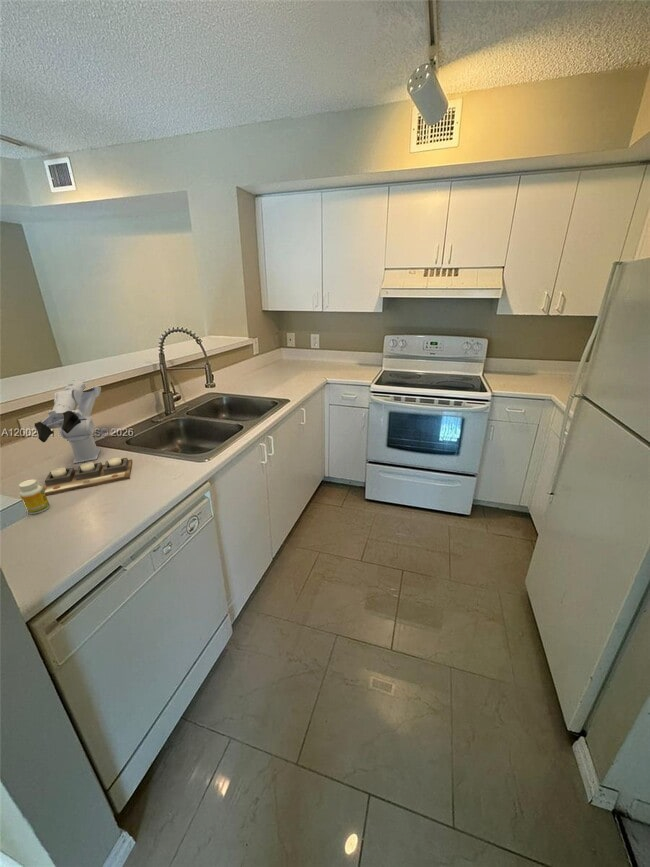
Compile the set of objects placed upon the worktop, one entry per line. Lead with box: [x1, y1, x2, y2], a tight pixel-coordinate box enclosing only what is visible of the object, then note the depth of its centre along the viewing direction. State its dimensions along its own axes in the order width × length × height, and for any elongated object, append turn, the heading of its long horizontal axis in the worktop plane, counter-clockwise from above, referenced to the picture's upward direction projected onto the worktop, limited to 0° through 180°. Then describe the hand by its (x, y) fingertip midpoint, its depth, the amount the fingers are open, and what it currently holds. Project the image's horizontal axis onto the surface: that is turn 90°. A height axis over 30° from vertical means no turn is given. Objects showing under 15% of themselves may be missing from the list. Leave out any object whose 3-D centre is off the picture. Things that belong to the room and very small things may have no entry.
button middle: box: [80, 461, 95, 473], centre depth 118 cm, size 4×4×2 cm
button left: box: [50, 466, 67, 478], centre depth 115 cm, size 4×4×2 cm
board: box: [42, 457, 133, 497], centre depth 118 cm, size 14×26×3 cm, turn 114°
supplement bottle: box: [18, 479, 50, 515], centre depth 100 cm, size 5×5×10 cm
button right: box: [107, 456, 122, 467], centre depth 122 cm, size 4×4×2 cm
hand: (53, 435), depth 108 cm, fingers open, 7 cm apart
